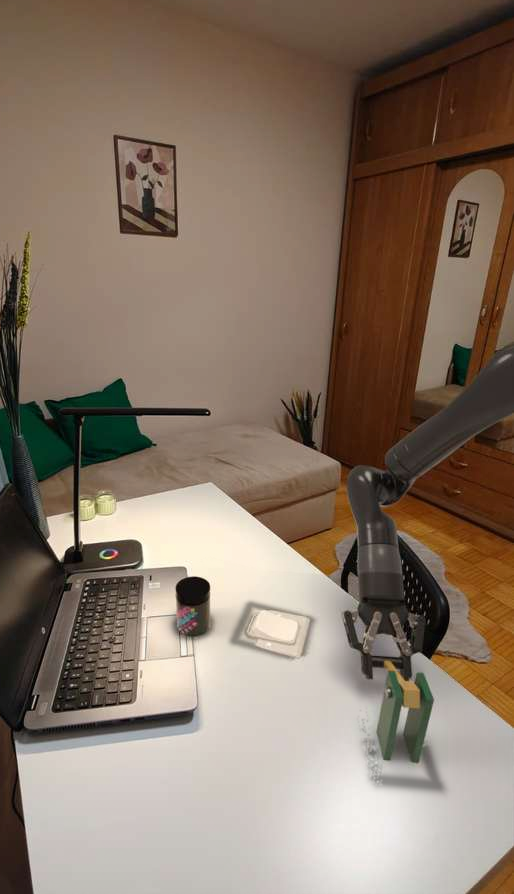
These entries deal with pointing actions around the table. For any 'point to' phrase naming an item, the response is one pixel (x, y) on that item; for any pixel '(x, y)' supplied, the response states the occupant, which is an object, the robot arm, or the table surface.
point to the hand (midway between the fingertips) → (387, 679)
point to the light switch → (279, 632)
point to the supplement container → (193, 606)
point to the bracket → (414, 721)
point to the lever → (399, 679)
